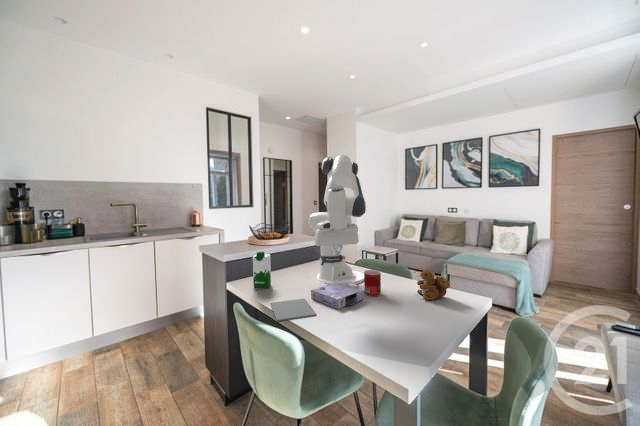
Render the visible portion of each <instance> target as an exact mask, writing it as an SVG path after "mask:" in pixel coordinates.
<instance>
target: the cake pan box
mask: <svg viewBox="0 0 640 426" xmlns="http://www.w3.org/2000/svg"><path fill="white" fill-rule="evenodd" d="M364 294H365V291H364V290H363V289H360V288H357V287H351V286H349V285H343V284H340V283H333V284H327V285H323V286H320V287H316V288H313V289H310V295H311V296H310V297H311V299H312V300H314V301H316V302H319V303H321V304H324V305H326V306H329V307H332V308H334V309H336V310H339V309H342V308H345V307H347V306H348V307H349V306H351V305H354V304H356V303H357V302H360V301H362V300H364Z"/></svg>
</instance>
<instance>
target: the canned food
mask: <svg viewBox="0 0 640 426" xmlns="http://www.w3.org/2000/svg"><path fill="white" fill-rule="evenodd" d="M363 275H364V280H363V282H364V283H363V284H364V287H363V288H364V294H365V295H367V296H369V297H378V296H380V295H381V292H382V290H381V288H382V287H381V286H382V284H381V283H382V281H381V280H382V279H381V278H382V277H381V271H379V270H376V269H368V270H364V273H363Z"/></svg>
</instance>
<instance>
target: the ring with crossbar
mask: <svg viewBox="0 0 640 426" xmlns="http://www.w3.org/2000/svg"><path fill="white" fill-rule="evenodd" d="M352 271H353V274H354V275H356V276H357V277H356V278H354V279H350V280H342V281H339V280H336V281H337V282H334V281H327V280H321V279H319V274H320V272H319V273H318V274H317V275H316V279H317V280H318V281H319V282H321V283H323V282H324V283H323V284H326V283H327V285H330V284H333V283H340V284H343V285H347V286H351V287H354V288H357V287H358V285H357V284H360V283H362V282H364V273H362V272H360V271H357V270H352Z"/></svg>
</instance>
